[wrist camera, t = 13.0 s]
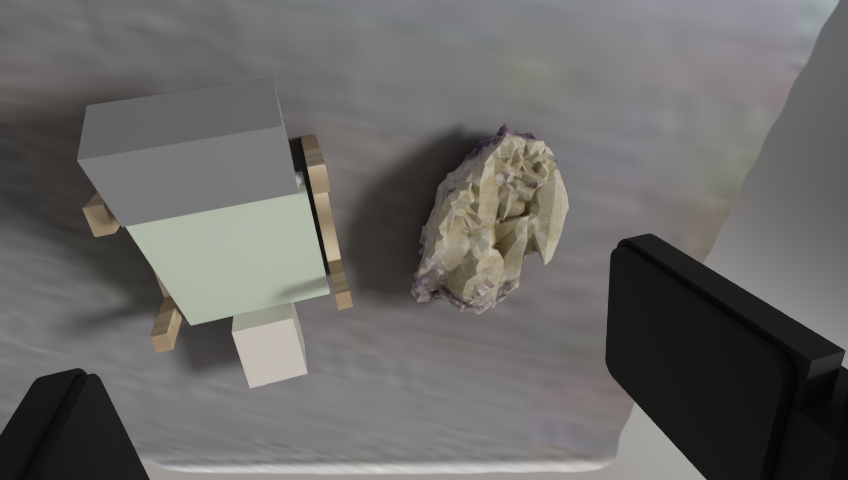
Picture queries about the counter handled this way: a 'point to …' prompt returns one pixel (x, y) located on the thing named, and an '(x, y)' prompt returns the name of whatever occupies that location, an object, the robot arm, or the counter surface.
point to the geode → (491, 222)
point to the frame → (171, 313)
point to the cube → (270, 344)
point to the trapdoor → (208, 196)
